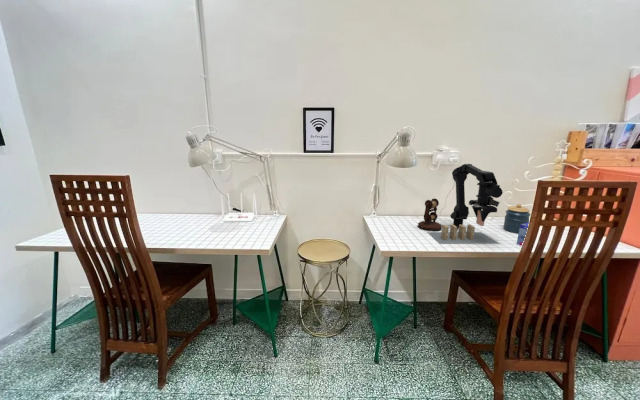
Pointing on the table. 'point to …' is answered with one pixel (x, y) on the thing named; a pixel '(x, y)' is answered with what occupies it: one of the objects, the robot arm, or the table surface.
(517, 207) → the canister
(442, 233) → the domino
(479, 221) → the domino
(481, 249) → the table surface
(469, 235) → the domino
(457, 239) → the mat
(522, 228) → the ink cartridge box
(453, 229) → the domino
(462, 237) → the domino
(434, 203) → the brown animal figurine
